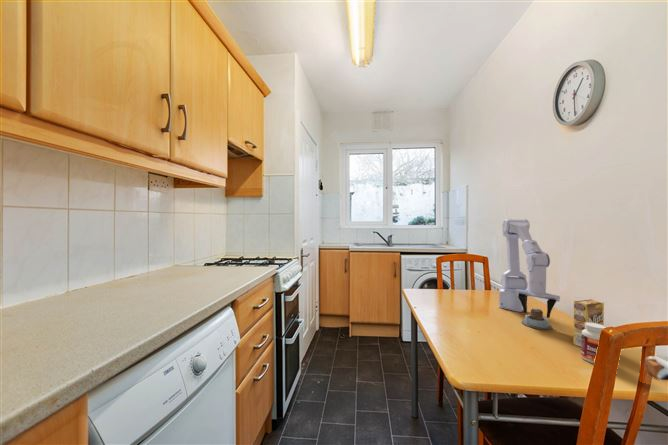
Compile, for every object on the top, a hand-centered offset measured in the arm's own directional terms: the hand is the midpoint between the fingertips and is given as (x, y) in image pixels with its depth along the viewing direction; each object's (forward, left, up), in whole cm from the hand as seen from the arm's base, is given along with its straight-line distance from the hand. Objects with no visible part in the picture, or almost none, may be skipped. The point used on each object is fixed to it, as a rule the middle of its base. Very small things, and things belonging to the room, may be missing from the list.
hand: (536, 314), depth 111 cm
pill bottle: (+18, -22, -4) cm, 29 cm away
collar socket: (0, 0, -4) cm, 4 cm away
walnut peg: (0, 0, -4) cm, 4 cm away
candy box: (+16, -9, -4) cm, 19 cm away
